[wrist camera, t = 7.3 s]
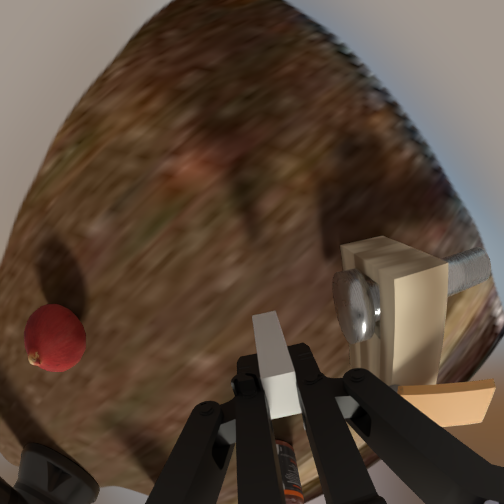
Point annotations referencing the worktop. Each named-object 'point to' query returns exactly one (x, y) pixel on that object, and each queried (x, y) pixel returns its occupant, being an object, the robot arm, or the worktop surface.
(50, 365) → the onion
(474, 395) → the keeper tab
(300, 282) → the worktop surface
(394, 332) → the block
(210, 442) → the robot arm
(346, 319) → the pin
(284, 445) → the supplement bottle
